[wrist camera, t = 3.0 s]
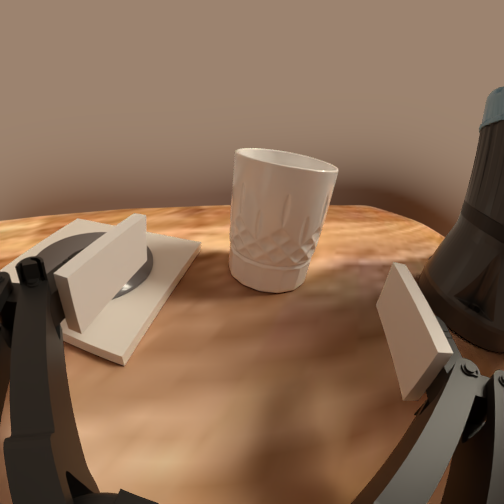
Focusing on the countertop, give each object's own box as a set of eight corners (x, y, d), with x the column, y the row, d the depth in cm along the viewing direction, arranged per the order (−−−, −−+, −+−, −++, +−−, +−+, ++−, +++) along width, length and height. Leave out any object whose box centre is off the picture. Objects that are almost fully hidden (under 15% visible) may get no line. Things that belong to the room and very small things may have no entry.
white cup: (282, 247, 31) (300, 152, 26) (328, 289, 24) (359, 175, 20) (209, 254, 27) (220, 145, 23) (244, 306, 21) (266, 166, 16)
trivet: (200, 249, 28) (201, 239, 27) (124, 365, 14) (121, 353, 14) (78, 225, 29) (77, 216, 28) (-19, 295, 15) (-23, 283, 15)
